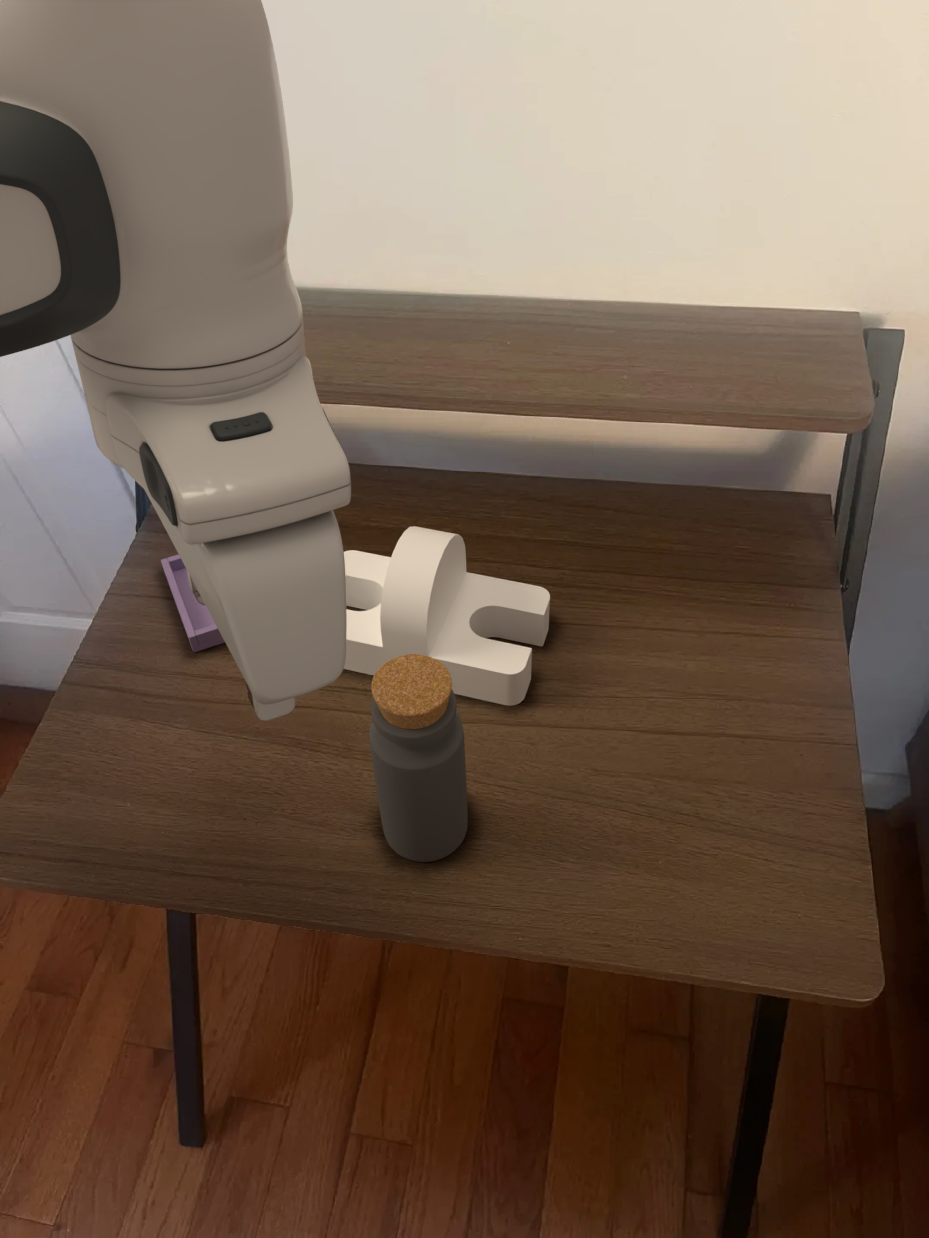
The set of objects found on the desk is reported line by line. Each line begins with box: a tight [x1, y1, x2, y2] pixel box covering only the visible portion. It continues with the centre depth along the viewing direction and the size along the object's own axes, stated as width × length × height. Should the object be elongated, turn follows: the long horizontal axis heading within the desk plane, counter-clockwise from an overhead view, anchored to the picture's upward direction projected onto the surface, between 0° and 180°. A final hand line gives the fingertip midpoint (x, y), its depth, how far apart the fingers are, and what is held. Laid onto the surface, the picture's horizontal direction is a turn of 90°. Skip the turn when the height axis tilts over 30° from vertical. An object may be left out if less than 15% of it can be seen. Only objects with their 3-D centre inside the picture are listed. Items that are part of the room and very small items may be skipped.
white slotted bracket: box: [343, 525, 551, 707], centre depth 78 cm, size 10×18×10 cm, turn 73°
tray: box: [160, 553, 226, 653], centre depth 85 cm, size 10×10×2 cm
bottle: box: [368, 654, 469, 863], centre depth 64 cm, size 6×6×15 cm
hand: (240, 648), depth 50 cm, fingers open, 8 cm apart
